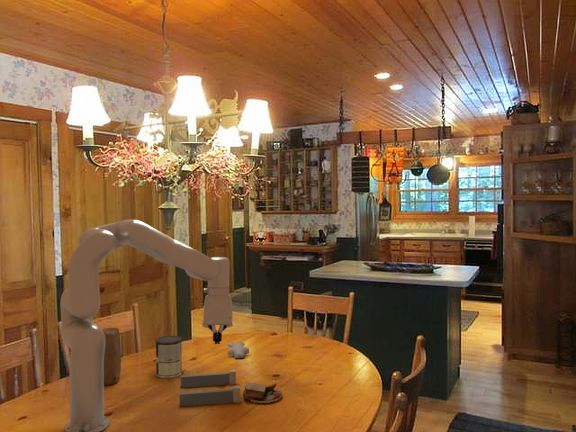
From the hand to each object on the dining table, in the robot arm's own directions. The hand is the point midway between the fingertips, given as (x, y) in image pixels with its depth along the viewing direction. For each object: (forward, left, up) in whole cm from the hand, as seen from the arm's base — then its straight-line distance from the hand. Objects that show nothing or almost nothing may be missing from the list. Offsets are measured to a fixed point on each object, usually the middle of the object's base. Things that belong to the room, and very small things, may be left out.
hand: (217, 343), depth 177 cm
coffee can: (+25, +18, -18) cm, 36 cm away
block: (+21, +40, -18) cm, 49 cm away
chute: (0, +3, -18) cm, 18 cm away
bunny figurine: (+46, -11, -18) cm, 51 cm away
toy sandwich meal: (-7, -15, -19) cm, 25 cm away
